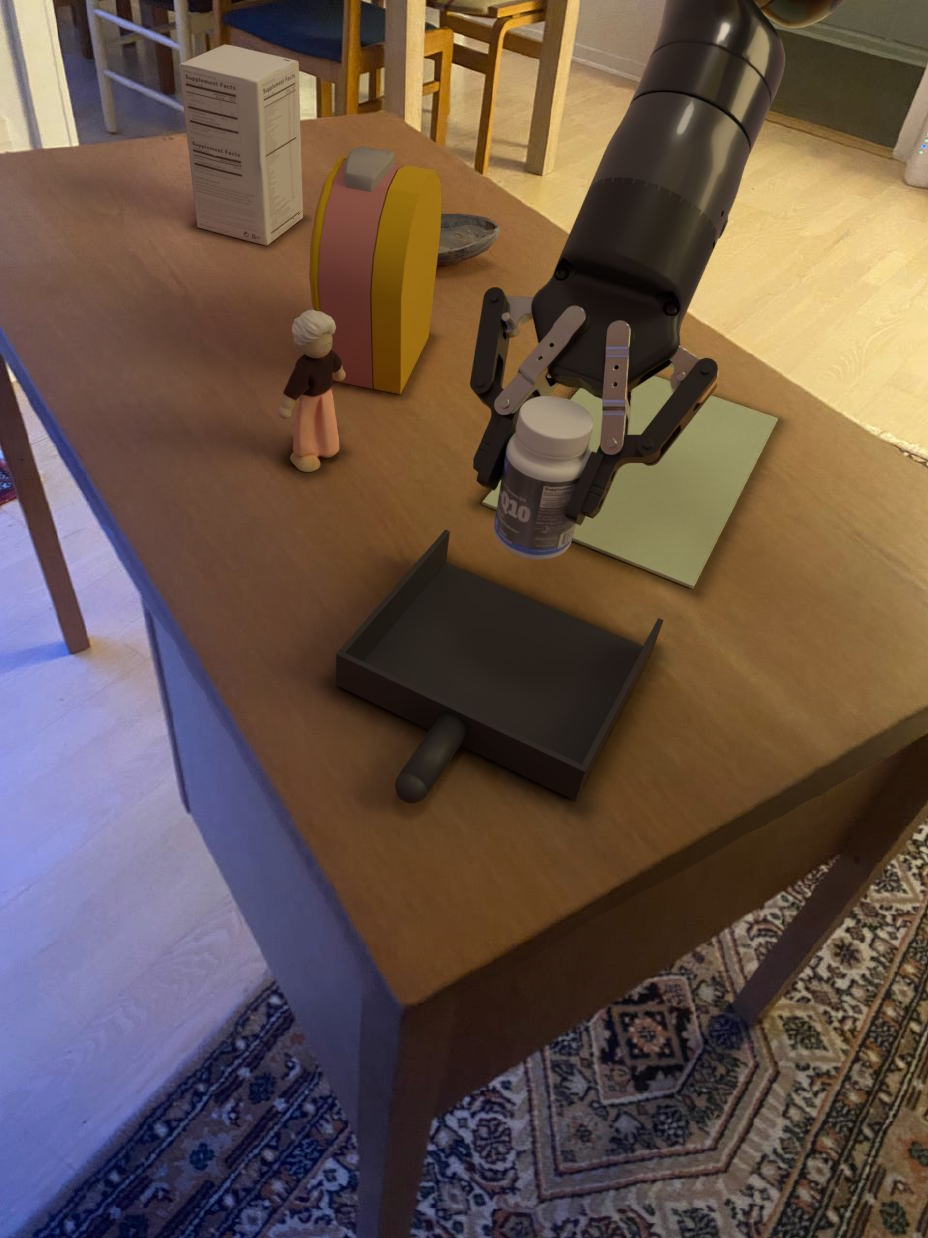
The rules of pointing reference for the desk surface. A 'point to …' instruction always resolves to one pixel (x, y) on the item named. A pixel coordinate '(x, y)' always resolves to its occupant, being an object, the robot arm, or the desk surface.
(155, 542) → the desk surface
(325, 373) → the grandmother figurine
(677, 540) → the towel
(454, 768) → the desk surface
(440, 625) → the dustpan
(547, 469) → the pill bottle
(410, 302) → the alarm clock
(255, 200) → the supplement box
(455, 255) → the grey shallow oval dish
